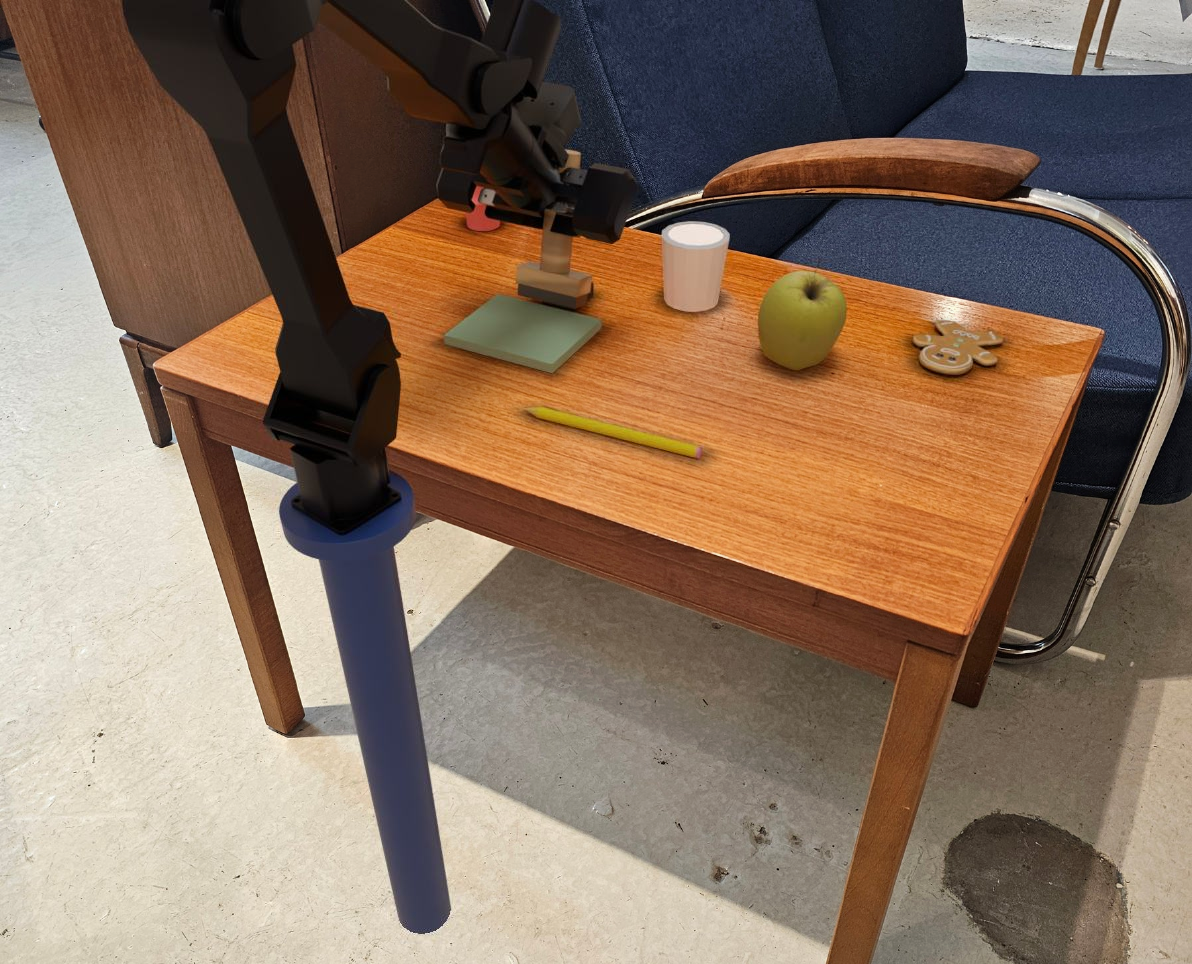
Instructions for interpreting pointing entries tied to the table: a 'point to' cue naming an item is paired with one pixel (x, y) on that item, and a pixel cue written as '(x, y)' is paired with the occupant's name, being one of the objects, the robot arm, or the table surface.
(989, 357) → the cookie
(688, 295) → the white cup
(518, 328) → the mat
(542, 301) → the dark brown square block
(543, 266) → the wooden rubber stamp
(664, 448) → the pencil
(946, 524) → the table surface
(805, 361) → the apple
